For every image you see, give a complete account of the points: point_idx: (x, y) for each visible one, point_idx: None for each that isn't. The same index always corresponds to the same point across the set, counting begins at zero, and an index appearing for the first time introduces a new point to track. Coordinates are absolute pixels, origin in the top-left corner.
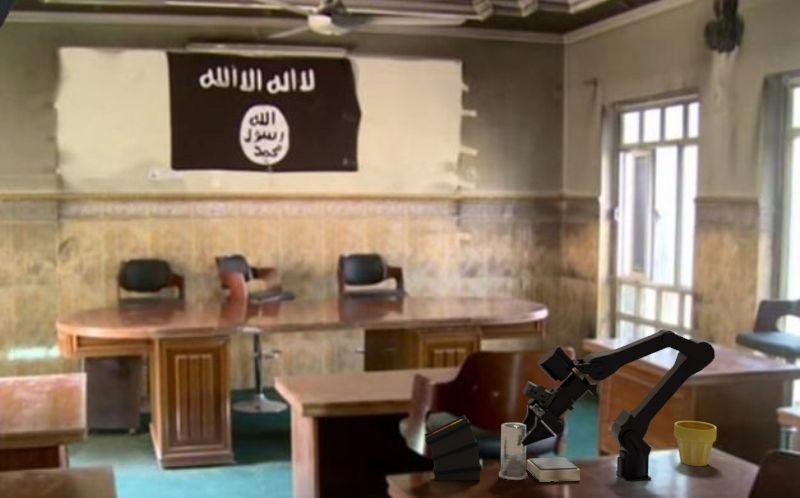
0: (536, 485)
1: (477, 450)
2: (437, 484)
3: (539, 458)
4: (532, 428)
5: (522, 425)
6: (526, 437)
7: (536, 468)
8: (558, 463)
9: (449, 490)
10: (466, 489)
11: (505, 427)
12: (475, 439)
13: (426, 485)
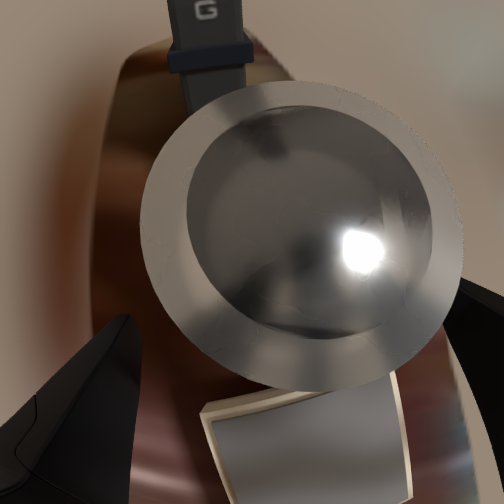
0: (162, 384)
1: (184, 88)
2: (168, 83)
3: (394, 413)
4: (36, 435)
5: (345, 328)
6: (79, 353)
7: (249, 403)
8: (317, 494)
9: (115, 112)
10: (117, 146)
11: (202, 110)
12: (218, 45)
13: (162, 68)
